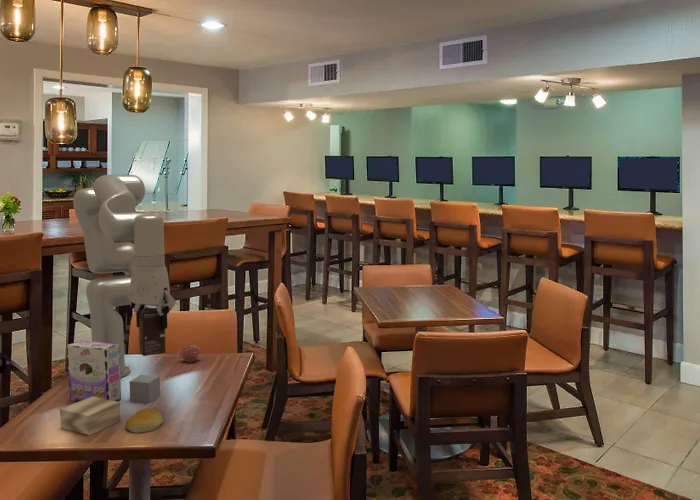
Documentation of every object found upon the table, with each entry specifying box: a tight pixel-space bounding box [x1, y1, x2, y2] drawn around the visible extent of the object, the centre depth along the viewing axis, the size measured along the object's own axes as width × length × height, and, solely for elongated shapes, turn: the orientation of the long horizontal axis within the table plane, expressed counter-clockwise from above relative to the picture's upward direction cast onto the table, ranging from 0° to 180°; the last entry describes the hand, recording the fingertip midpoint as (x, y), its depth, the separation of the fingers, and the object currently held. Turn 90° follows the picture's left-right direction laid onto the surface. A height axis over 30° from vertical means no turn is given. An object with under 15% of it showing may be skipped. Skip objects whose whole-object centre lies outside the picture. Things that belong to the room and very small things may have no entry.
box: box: [138, 307, 166, 357], centre depth 162 cm, size 6×4×12 cm
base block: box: [59, 396, 122, 436], centre depth 155 cm, size 10×10×5 cm
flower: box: [177, 344, 202, 363], centre depth 208 cm, size 8×8×6 cm
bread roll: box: [125, 408, 164, 434], centre depth 154 cm, size 8×9×4 cm
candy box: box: [66, 339, 122, 402], centre depth 172 cm, size 14×6×16 cm, turn 71°
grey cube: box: [128, 374, 161, 404], centre depth 173 cm, size 6×6×6 cm
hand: (152, 327), depth 162 cm, fingers closed on box, 6 cm apart
